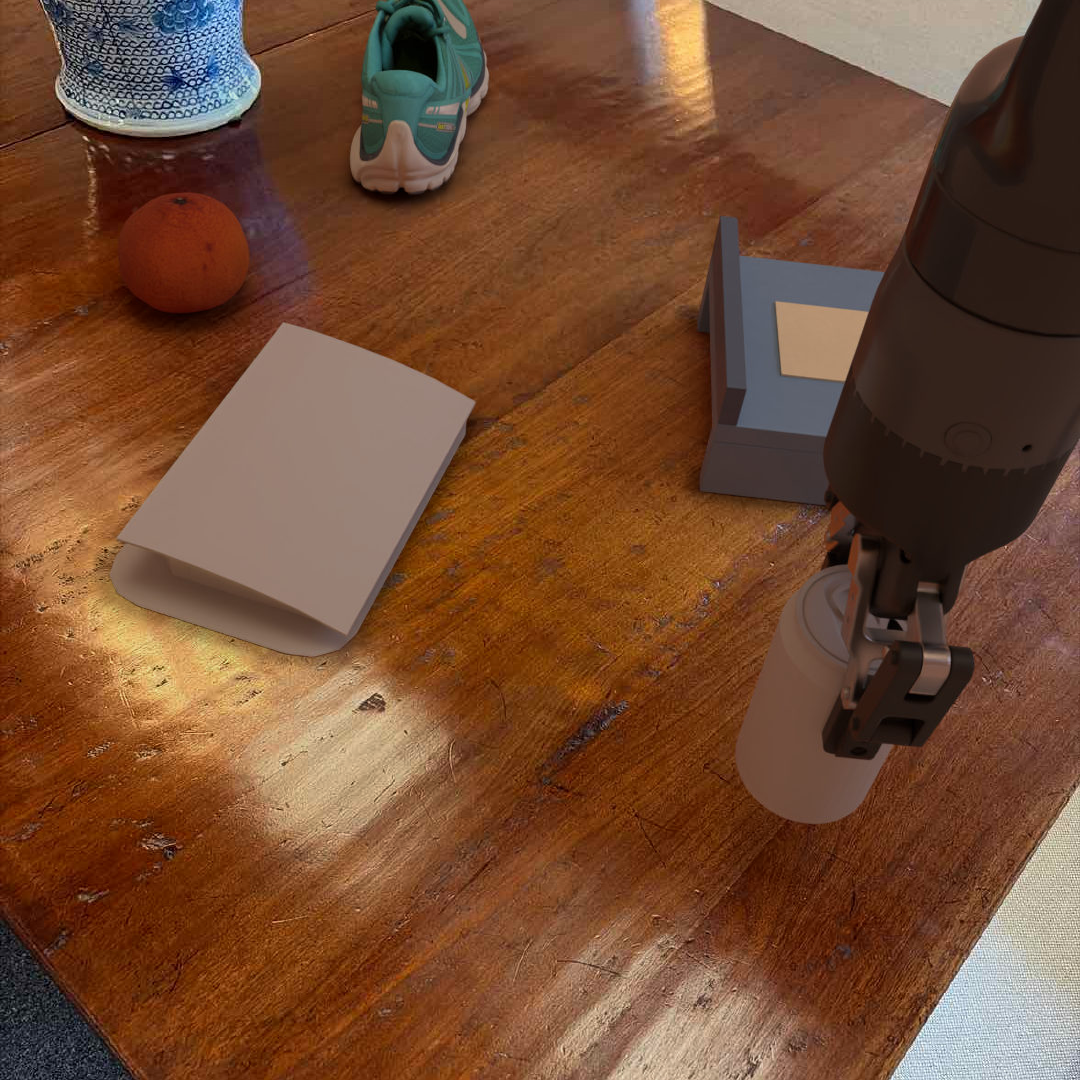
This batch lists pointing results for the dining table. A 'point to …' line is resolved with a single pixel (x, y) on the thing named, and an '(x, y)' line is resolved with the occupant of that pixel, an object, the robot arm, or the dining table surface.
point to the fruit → (183, 253)
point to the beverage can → (806, 709)
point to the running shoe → (417, 94)
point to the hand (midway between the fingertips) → (839, 676)
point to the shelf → (776, 367)
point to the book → (294, 496)
